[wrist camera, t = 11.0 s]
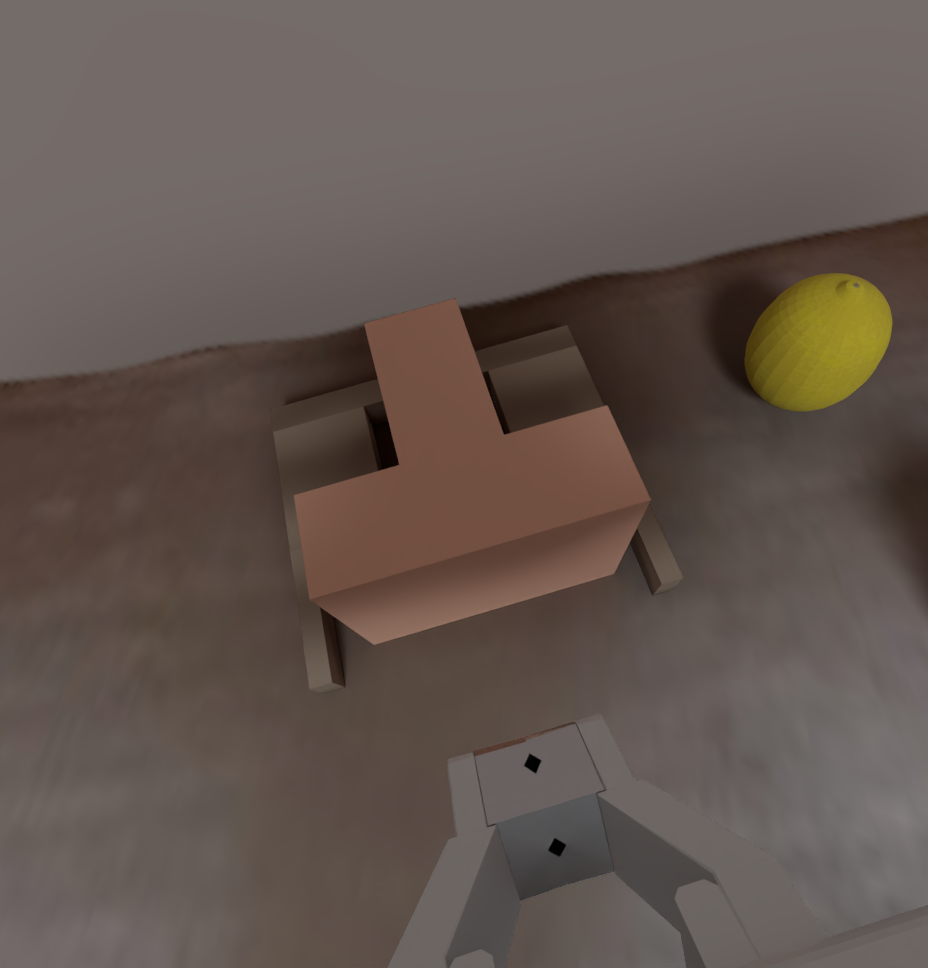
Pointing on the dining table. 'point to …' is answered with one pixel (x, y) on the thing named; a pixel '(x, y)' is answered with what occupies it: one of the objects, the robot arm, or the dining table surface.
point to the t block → (463, 496)
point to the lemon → (818, 342)
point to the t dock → (353, 452)
